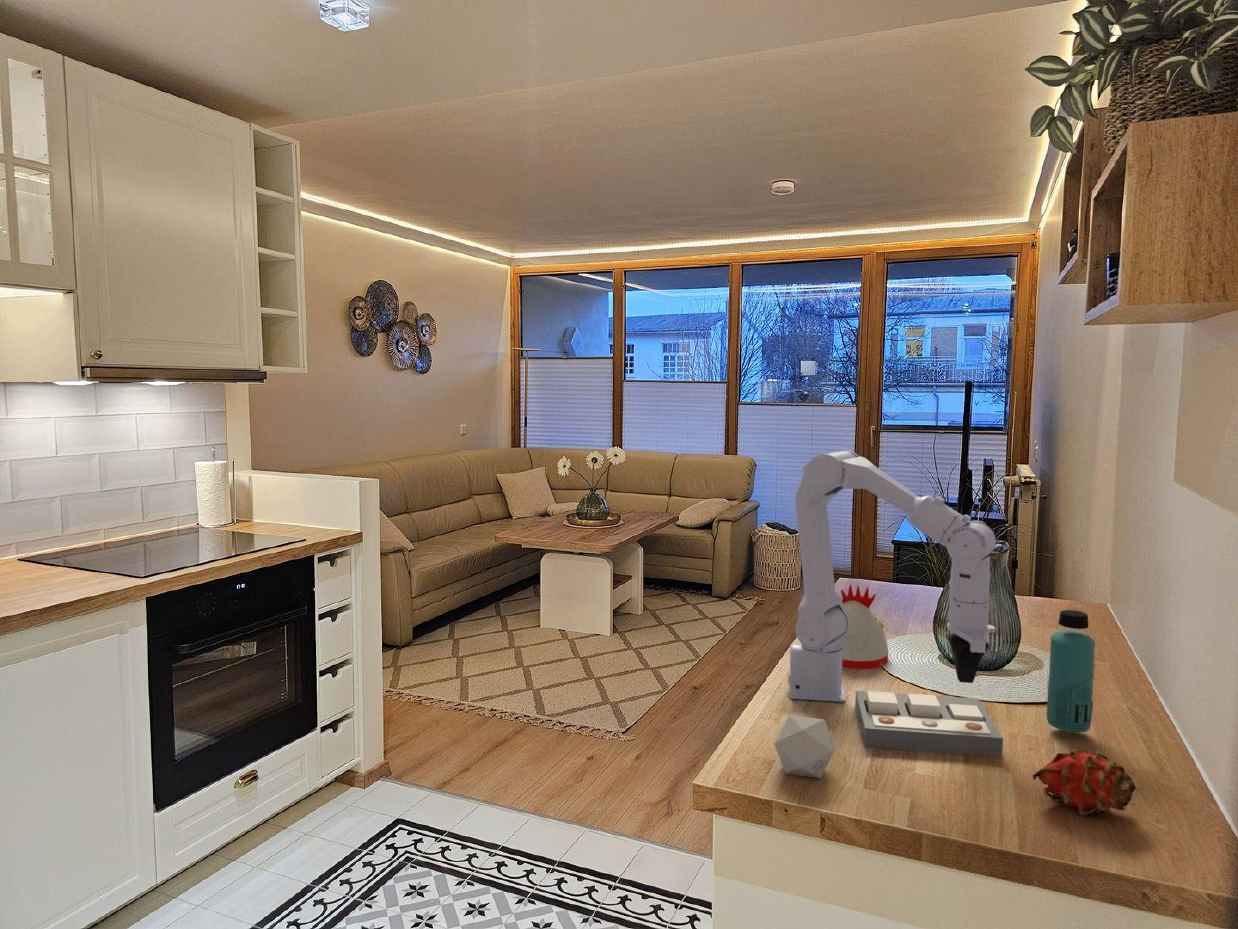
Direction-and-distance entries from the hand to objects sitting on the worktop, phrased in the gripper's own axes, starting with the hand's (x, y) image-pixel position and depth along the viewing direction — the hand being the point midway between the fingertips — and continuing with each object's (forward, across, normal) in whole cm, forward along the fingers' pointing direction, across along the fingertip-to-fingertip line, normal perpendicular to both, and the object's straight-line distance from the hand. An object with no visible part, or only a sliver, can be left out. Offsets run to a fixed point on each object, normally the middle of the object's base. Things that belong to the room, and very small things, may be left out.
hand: (965, 681), depth 131 cm
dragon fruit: (+9, -22, -10) cm, 26 cm away
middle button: (+6, 0, +6) cm, 8 cm away
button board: (+8, -1, +6) cm, 11 cm away
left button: (+6, 0, +13) cm, 14 cm away
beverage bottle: (+9, +2, -16) cm, 18 cm away
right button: (+7, 0, 0) cm, 7 cm away
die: (+9, -18, +26) cm, 33 cm away
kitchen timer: (+9, +32, +14) cm, 37 cm away
